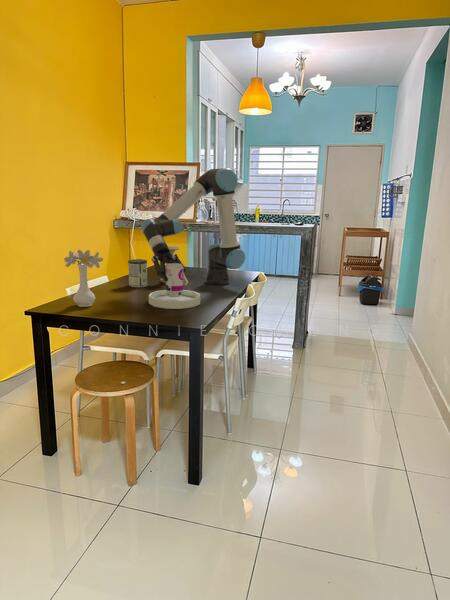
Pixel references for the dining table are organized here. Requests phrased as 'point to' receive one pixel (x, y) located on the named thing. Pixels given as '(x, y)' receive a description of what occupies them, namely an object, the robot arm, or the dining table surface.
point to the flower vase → (83, 275)
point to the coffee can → (137, 273)
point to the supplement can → (175, 279)
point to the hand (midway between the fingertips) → (178, 285)
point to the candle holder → (172, 250)
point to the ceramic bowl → (174, 300)
